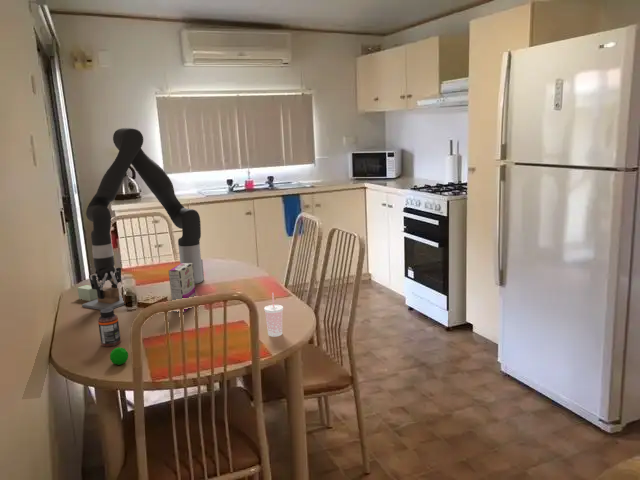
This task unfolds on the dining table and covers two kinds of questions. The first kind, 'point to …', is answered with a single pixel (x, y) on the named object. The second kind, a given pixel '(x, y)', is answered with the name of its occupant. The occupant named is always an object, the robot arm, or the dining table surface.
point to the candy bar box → (182, 282)
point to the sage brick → (87, 293)
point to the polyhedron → (119, 356)
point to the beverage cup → (274, 319)
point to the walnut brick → (110, 295)
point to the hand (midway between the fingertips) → (108, 296)
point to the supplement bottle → (109, 328)
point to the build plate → (103, 304)
